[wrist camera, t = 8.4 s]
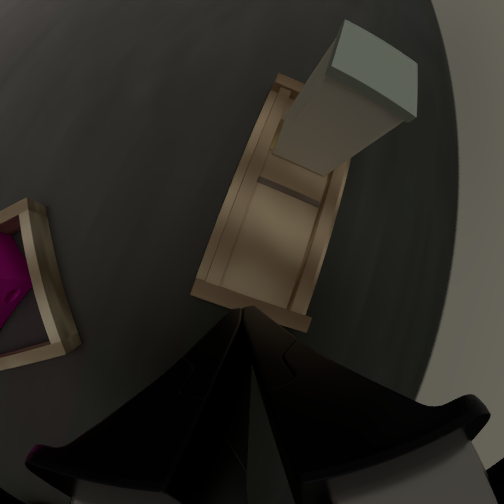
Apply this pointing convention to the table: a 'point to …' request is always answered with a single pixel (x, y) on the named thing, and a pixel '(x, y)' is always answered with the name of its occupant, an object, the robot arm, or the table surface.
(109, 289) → the table surface
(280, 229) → the wooden tray
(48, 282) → the block pen
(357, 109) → the block
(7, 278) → the toy block
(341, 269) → the table surface
